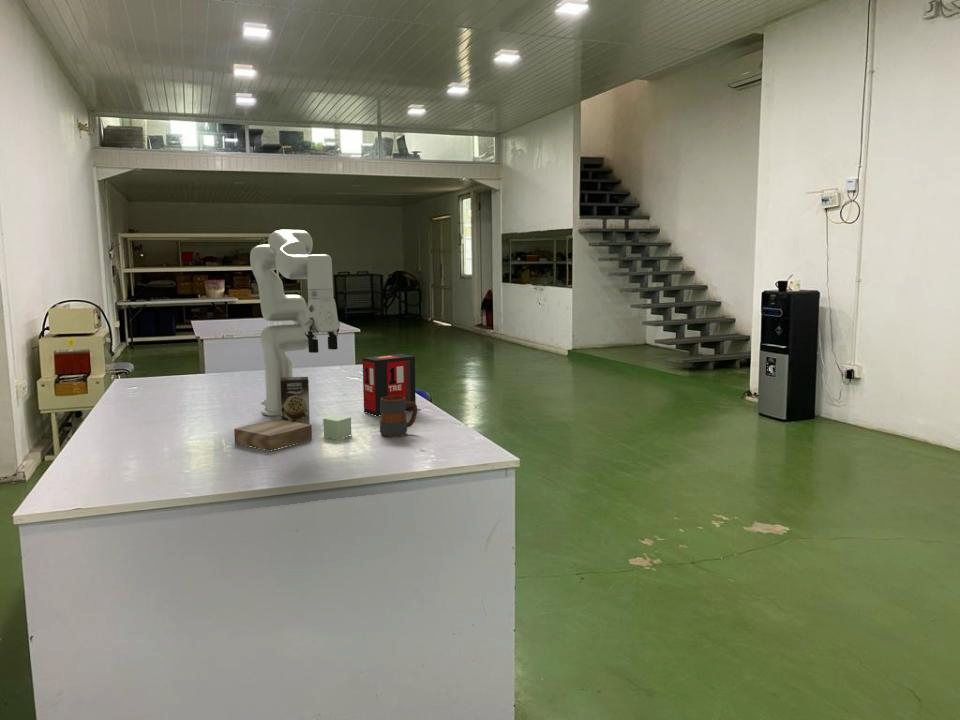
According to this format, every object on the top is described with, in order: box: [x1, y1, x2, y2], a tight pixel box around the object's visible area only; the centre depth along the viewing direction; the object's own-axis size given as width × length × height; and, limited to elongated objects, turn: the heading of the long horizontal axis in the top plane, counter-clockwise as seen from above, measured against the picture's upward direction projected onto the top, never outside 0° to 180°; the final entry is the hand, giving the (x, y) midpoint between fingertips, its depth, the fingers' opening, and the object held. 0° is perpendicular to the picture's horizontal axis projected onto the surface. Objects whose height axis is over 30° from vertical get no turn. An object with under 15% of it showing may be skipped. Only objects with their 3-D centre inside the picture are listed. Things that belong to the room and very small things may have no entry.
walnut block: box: [233, 418, 313, 452], centre depth 214 cm, size 16×16×5 cm
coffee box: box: [280, 376, 311, 425], centre depth 233 cm, size 9×6×16 cm
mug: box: [379, 396, 418, 437], centre depth 222 cm, size 9×12×12 cm
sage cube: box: [322, 414, 352, 440], centre depth 220 cm, size 6×6×6 cm
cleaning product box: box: [362, 353, 417, 417], centre depth 255 cm, size 16×9×20 cm, turn 129°
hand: (323, 350), depth 217 cm, fingers open, 9 cm apart
